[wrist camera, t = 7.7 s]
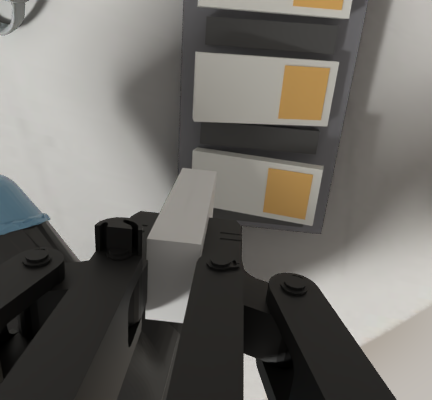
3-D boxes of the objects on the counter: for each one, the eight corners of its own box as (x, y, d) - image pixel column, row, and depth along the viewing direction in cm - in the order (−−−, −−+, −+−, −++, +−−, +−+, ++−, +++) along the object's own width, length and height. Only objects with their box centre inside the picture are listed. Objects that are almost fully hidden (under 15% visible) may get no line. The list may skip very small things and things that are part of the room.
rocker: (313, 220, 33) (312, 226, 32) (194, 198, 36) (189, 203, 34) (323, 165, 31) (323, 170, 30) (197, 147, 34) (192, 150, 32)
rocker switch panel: (316, 220, 39) (322, 239, 35) (182, 206, 40) (174, 223, 36) (375, -87, 29) (393, -105, 25) (193, -97, 30) (184, -116, 26)
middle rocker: (321, 123, 32) (327, 126, 31) (192, 118, 30) (194, 121, 29) (332, 60, 30) (339, 61, 29) (195, 51, 28) (197, 52, 27)
